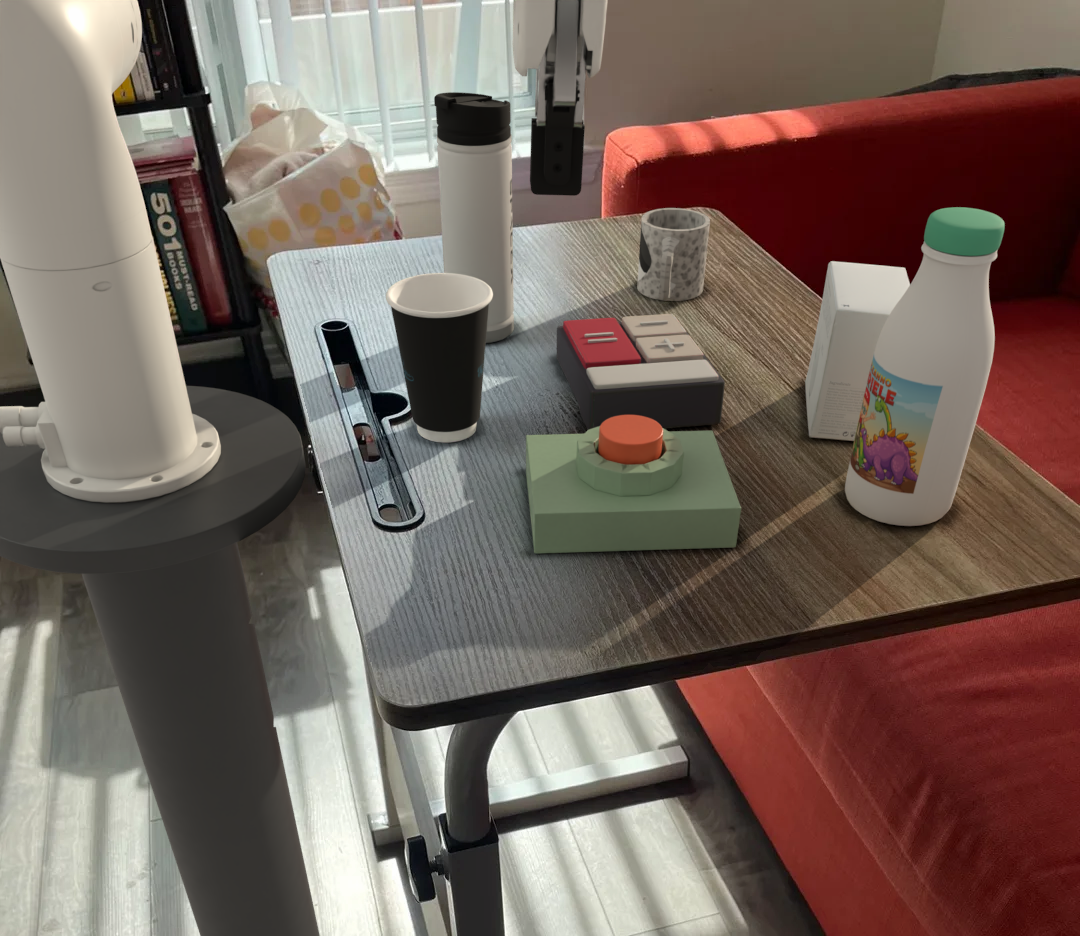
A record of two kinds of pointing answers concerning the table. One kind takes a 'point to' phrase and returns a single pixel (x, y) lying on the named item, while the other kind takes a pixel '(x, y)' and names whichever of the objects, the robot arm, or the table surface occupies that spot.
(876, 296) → the cosmetics box
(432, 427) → the dixie cup
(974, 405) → the milk bottle
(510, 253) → the travel mug
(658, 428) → the push button
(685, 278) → the mug
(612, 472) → the button housing
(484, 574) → the table surface
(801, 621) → the table surface
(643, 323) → the calculator
